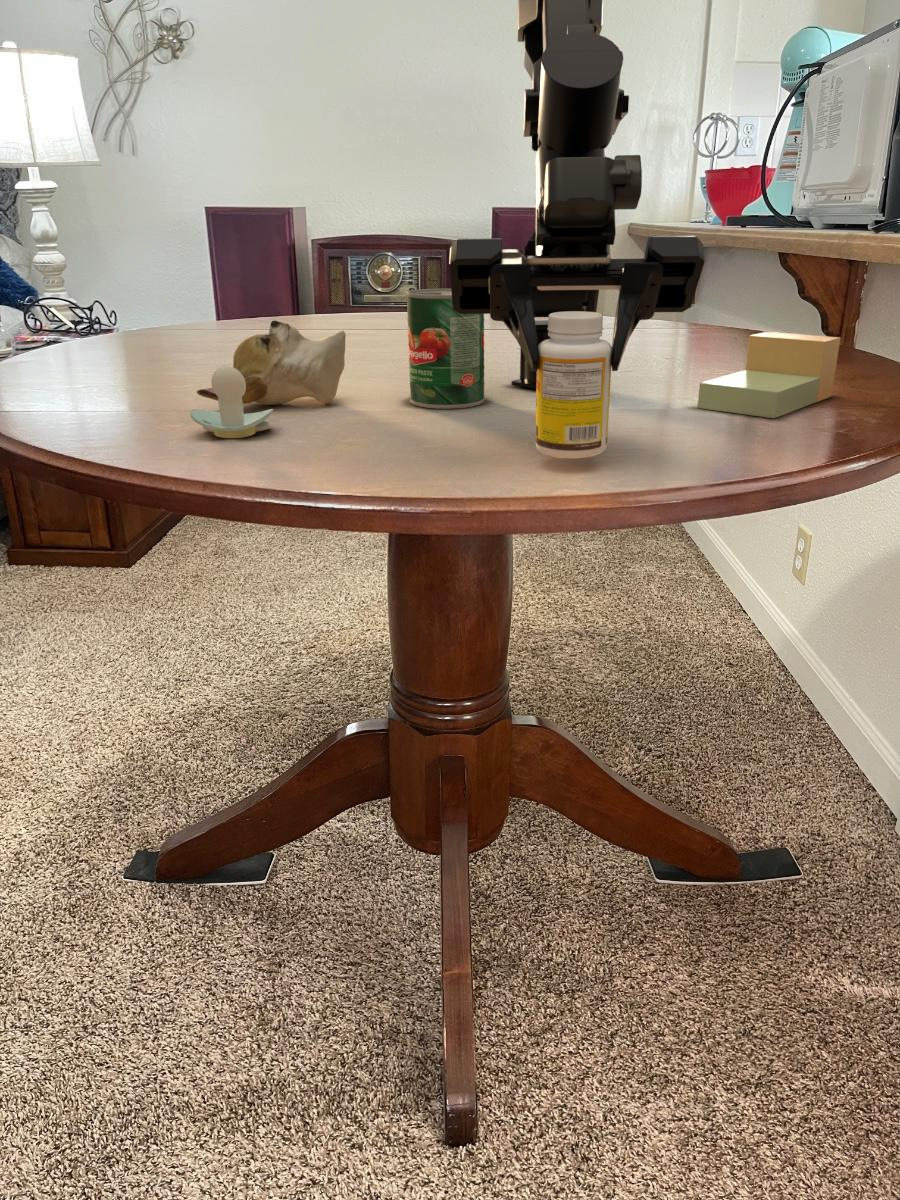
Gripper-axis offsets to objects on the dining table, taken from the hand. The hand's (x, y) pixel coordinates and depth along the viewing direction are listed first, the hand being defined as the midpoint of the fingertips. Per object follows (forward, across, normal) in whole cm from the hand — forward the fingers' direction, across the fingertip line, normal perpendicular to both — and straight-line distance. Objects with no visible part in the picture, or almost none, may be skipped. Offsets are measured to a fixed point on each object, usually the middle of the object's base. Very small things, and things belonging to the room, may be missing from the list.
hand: (574, 367), depth 65 cm
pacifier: (-3, -30, +14) cm, 33 cm away
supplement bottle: (+4, 0, +6) cm, 7 cm away
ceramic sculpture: (-12, -29, +24) cm, 40 cm away
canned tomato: (-13, -11, +25) cm, 30 cm away
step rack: (-13, +22, +25) cm, 36 cm away
